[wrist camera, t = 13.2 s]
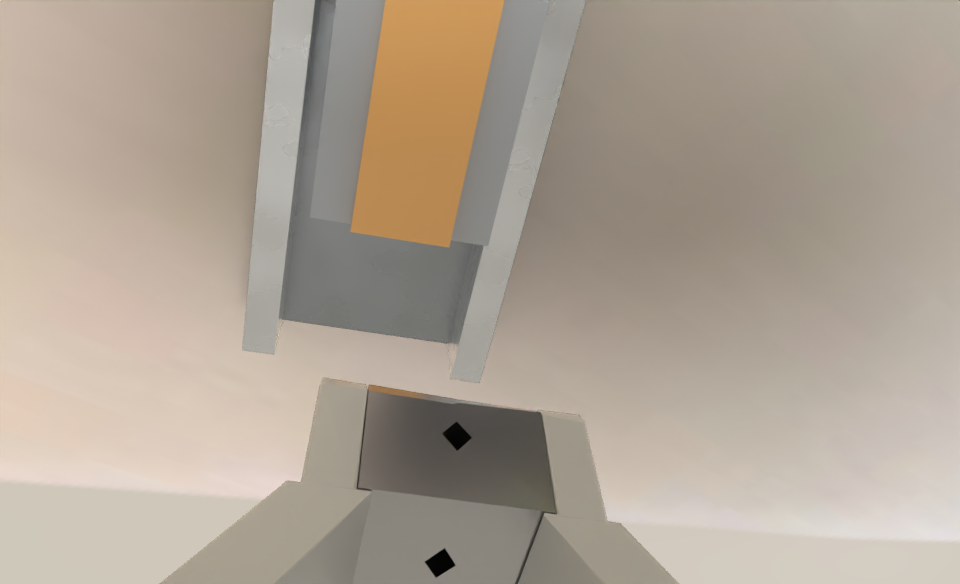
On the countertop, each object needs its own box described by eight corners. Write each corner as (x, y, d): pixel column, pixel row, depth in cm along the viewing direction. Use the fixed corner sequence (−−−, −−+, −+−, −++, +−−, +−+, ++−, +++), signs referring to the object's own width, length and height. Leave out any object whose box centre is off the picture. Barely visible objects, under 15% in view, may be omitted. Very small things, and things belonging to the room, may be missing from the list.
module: (521, -47, 22) (552, 7, 17) (475, 157, 25) (488, 254, 20) (359, -84, 22) (339, -39, 17) (331, 131, 25) (307, 225, 20)
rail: (660, -344, 20) (693, -360, 17) (479, 335, 30) (484, 383, 28) (322, -444, 18) (308, -475, 16) (252, 301, 29) (237, 349, 26)
